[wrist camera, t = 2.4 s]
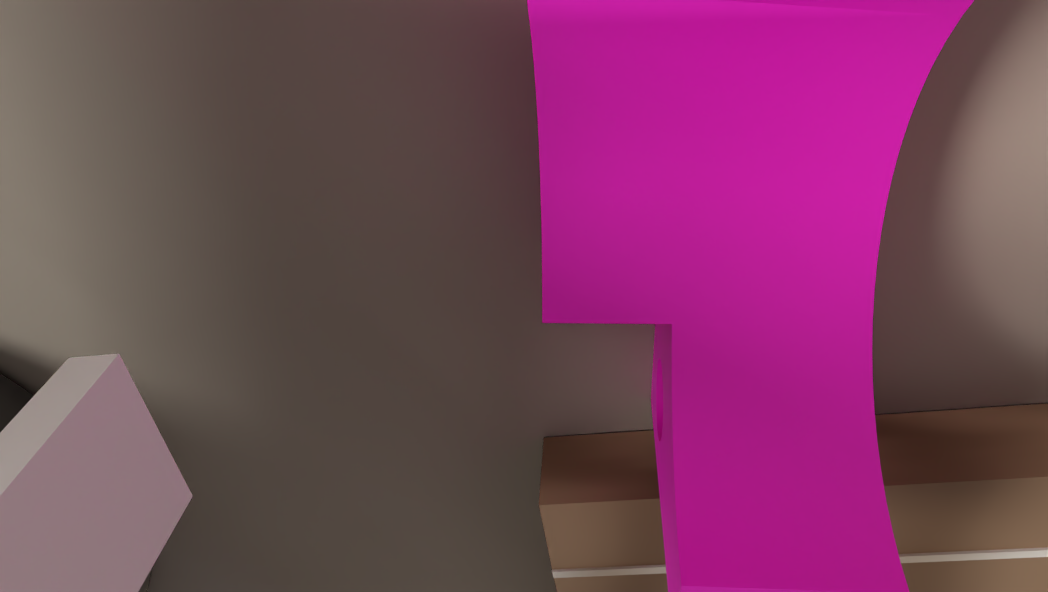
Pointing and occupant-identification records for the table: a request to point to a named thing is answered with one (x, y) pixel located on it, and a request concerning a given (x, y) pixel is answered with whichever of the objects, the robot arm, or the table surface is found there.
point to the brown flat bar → (910, 488)
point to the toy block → (738, 257)
